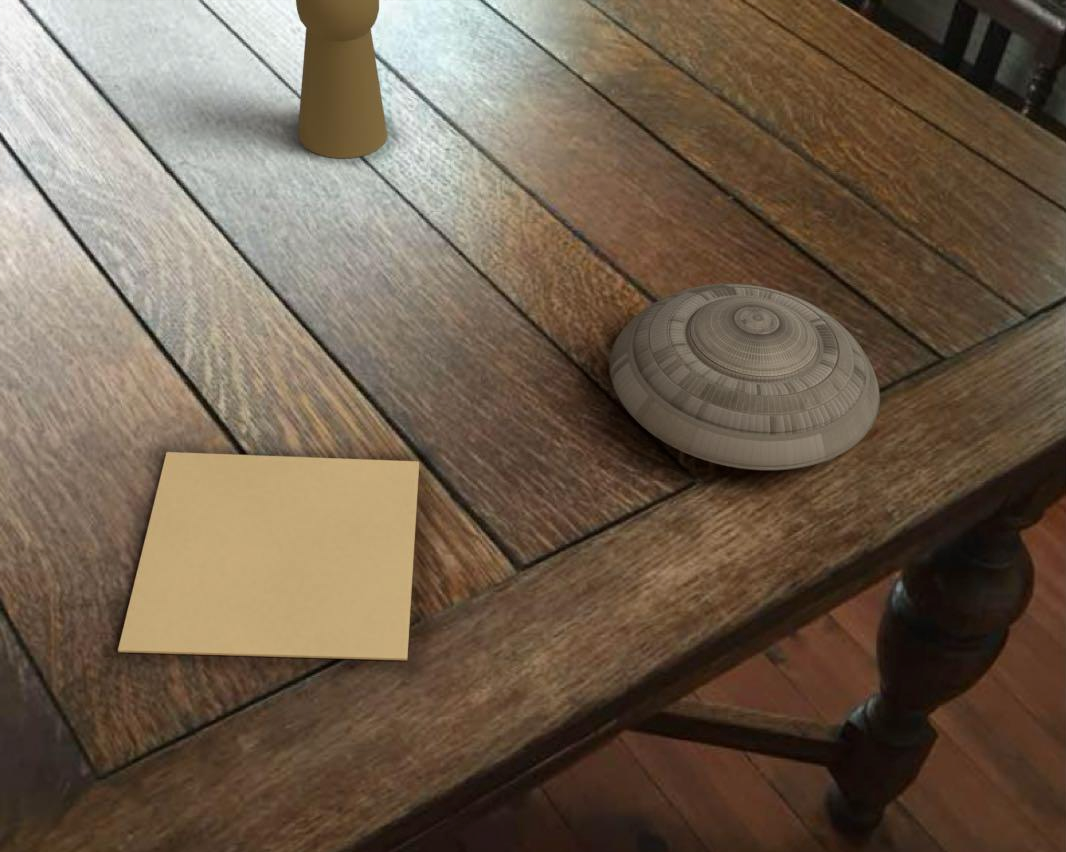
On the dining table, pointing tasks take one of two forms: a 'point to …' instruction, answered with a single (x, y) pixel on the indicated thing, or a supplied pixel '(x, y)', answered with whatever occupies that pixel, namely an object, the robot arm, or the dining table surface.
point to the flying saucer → (745, 377)
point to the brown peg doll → (340, 79)
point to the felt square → (277, 558)
